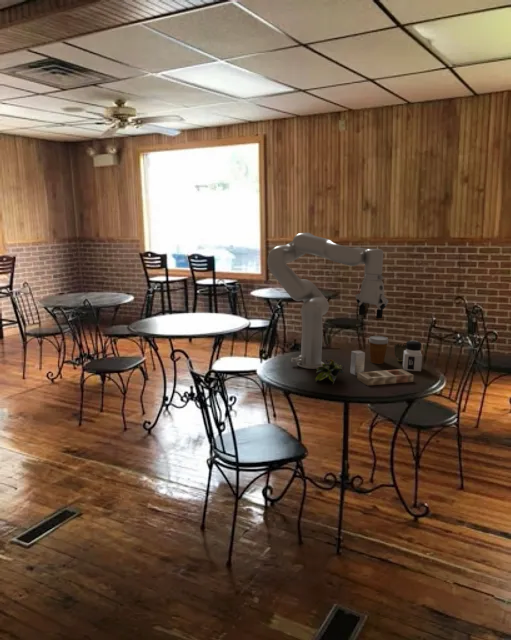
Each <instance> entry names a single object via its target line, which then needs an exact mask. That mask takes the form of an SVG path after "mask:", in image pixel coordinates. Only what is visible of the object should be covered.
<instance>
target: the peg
mask: <svg viewBox="0 0 511 640" xmlns="http://www.w3.org/2000/svg"><path fill="white" fill-rule="evenodd" d="M350 352H351V353H350V371H349V373H350V374H351V375H353V376H357V372H365V363H366V362H365V359H366V352H364V351H362V350H351V351H350Z"/></svg>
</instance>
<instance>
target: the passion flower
mask: <svg viewBox="0 0 511 640" xmlns="http://www.w3.org/2000/svg"><path fill="white" fill-rule="evenodd" d="M344 369H345V366H344V365H342V364H341V363H339V362H337V361H336V360H334V359H329V360H328V359H326V360H325V362H323V363H322V366H321V367H318V369H316V371H315V374H317V375H316V377H315V379H314V381H315V382H316V383H317V382H318V381H319V382H320V381H323V380H324V379H326V378H328V380H329V381H331V382H332V384H331V385H334V384H335V381H336V379H337V378H338V376H339V375H340V374H344Z"/></svg>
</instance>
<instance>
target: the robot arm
mask: <svg viewBox="0 0 511 640" xmlns="http://www.w3.org/2000/svg"><path fill="white" fill-rule="evenodd" d="M306 254H307V255H310V256H311V255H312V256H316V257H319V258H323V259H326V260H328V261H331V262H335V263H338V264H339V263H340V264H342V265H346V266H350V267H355V266H359V265H364V269H363V270H364V272H363V280H362V282H361V287H360V293H357V294H356V295H355V299H356V303H357V306H358V307H359V308H358V315H359V316H362V315H365V314H366V305H365V304H369V305H375V306H376V308H377V309H376V313H375V314H376V315H375V317H376V320H377V319H378V320H379V319H382V318H383V314H384V313H383V312H384V309H385V308H386V307H387V305H388V303H389V299H388V298H386V296H385V286H384V281H383V280H384V276H383V265H384V264H383V263H384V251H383V249H381V248H380V249H379V248H365V247H360V246H359V247H349V246H345V245H341V244H338V243H335V242H333V241H332V239H329V238H325V237H321V236H317V235H314V234H313V233H311V232H299V233H296V234H295V236H294V237H293V239H292V241H290V242H288V243H287V244H283V245H281V244H280V245H277V246H275V247H273V248H272V249H271V250H270V251H269V253H268V255H267V267H268V269H269V272H270V273H271V274H272V276H273V277H274V278H275V280H276V281H277V282H278V283H279V284H280V286H281V287H282V288H283V289H284V291H285V292H286V293H287V295H288V296H290V298H291V299H293V300H294V301H296V302H300V301H301V302H303V304H302V306H301V309H300V311H301V312H300V314H301V342H300V343H301V345H300V346H301V349H300V354H299V355H298V356H297V357H290V362H291V363H296V365H297V366H298V367H300V368H303V369H309V370H315V369H316V370H317V369H319V368H318V367H321V366H322V363H324V362H323V361H322V350H323V325H324V324H323V316H325V315H326V314H327V313H328V311H329V308H330V304H329V302H328V300H327V298H326V297H325V296H324V294H323V293H322V292H321V291H320V290H319V288H318V287H317V285H315V283H314V282H312V281H311V280H309V279H306V278H305V279H304V278H302V279H301V278H300V277H299V276H298V275H297V273H296V272H295V271H294V270H293V269H292V268H291V267H290V266H288V265H287V264H289V263H292V262H294V261H296V260H298V259H299V258H300V257H303V256H304V255H306Z"/></svg>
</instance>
